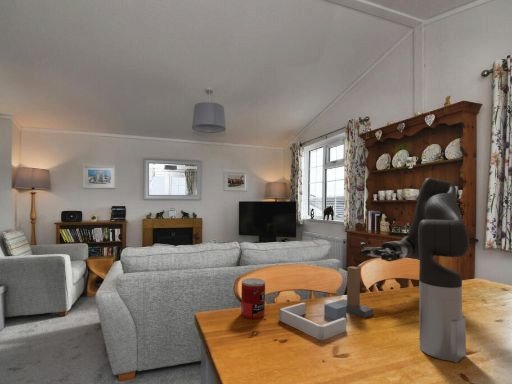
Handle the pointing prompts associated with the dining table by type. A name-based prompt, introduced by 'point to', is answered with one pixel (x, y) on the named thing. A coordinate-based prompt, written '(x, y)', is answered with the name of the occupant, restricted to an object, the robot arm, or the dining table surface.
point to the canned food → (253, 298)
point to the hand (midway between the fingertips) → (371, 255)
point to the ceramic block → (335, 311)
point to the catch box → (310, 322)
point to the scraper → (354, 294)
